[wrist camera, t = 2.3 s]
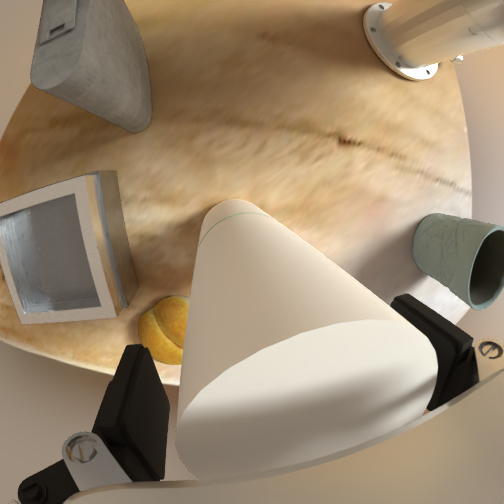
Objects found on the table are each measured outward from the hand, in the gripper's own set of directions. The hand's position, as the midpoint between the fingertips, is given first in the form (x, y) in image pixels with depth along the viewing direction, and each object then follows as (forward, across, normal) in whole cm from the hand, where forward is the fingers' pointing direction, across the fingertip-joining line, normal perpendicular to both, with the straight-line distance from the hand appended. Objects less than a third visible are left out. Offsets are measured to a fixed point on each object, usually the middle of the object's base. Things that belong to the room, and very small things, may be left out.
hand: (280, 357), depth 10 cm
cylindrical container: (+21, 0, 0) cm, 21 cm away
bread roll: (+22, +8, +10) cm, 25 cm away
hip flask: (+21, +9, -20) cm, 31 cm away
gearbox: (+21, +19, -2) cm, 29 cm away
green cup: (+21, -27, +5) cm, 35 cm away
